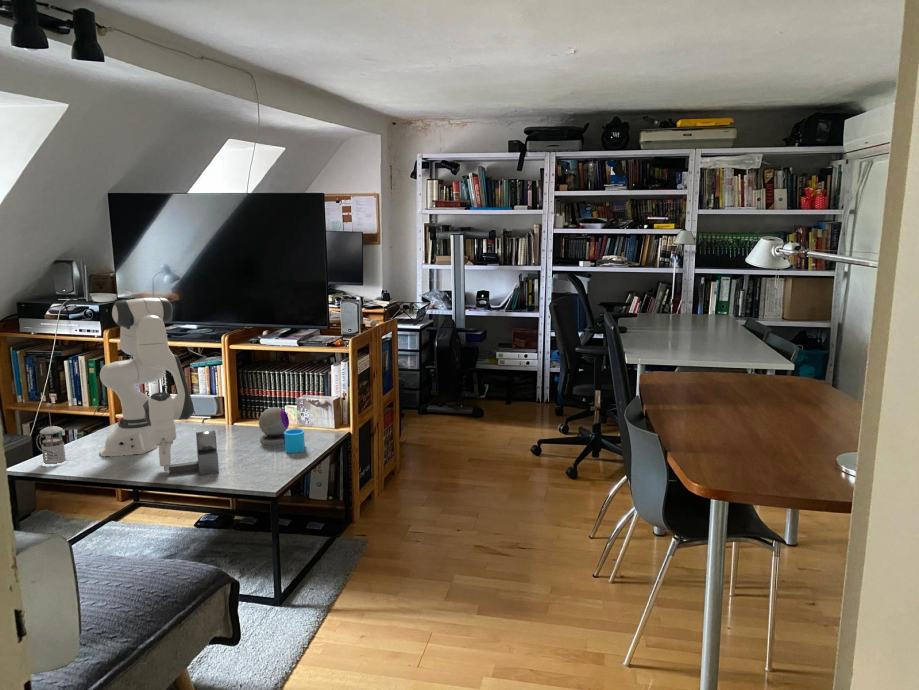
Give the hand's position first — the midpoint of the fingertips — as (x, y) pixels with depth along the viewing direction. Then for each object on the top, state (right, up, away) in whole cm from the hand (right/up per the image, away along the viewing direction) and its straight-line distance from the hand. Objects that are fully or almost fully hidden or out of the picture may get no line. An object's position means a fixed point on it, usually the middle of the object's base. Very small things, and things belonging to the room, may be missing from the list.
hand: (166, 469), depth 265 cm
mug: (+43, +3, +29) cm, 53 cm away
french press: (-52, 0, +13) cm, 53 cm away
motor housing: (+14, -1, +6) cm, 15 cm away
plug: (+8, -1, +4) cm, 9 cm away
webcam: (+31, +6, +41) cm, 52 cm away
